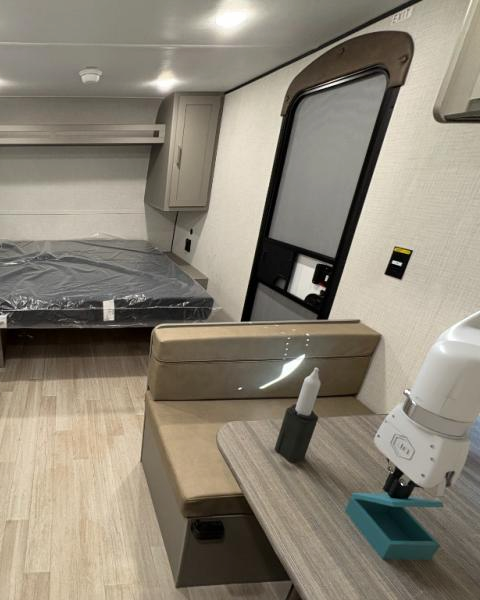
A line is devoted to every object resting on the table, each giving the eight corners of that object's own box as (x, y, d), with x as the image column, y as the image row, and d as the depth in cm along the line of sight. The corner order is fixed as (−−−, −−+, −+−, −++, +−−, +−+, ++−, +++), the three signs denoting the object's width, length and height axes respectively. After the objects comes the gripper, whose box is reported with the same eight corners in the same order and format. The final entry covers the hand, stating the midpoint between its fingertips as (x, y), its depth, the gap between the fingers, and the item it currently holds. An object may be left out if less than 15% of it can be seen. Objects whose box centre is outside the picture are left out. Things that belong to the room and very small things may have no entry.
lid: (444, 507, 54) (442, 501, 54) (393, 506, 54) (391, 501, 54) (396, 498, 62) (395, 493, 62) (352, 497, 62) (351, 492, 62)
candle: (271, 450, 78) (297, 364, 69) (285, 444, 80) (312, 359, 71) (291, 466, 74) (321, 377, 65) (305, 459, 76) (337, 371, 67)
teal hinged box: (429, 561, 56) (440, 544, 54) (381, 560, 56) (390, 544, 54) (386, 513, 64) (395, 497, 62) (343, 512, 64) (351, 496, 62)
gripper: (373, 385, 58) (343, 459, 65) (464, 452, 44) (413, 537, 51) (414, 386, 58) (379, 460, 65) (518, 452, 44) (460, 537, 51)
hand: (394, 493), depth 58 cm, fingers closed
